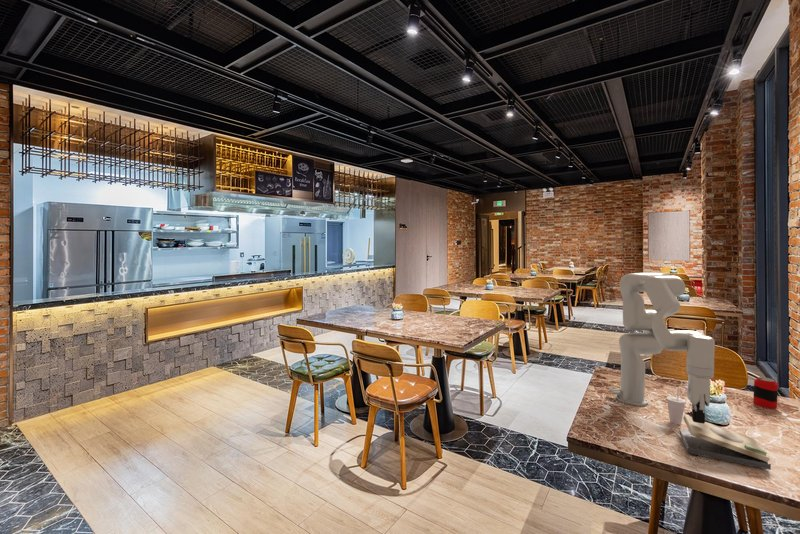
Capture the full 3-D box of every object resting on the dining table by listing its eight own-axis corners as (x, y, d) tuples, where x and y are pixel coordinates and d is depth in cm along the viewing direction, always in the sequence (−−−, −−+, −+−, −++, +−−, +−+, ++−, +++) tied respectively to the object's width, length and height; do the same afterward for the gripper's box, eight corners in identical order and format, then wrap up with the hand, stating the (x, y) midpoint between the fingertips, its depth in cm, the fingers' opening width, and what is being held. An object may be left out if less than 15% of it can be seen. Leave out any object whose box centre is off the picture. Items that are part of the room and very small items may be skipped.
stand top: (691, 434, 126) (693, 428, 126) (683, 418, 139) (685, 412, 138) (768, 462, 117) (770, 455, 117) (752, 442, 129) (754, 435, 129)
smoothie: (688, 426, 147) (689, 392, 146) (670, 425, 148) (671, 391, 147) (680, 419, 153) (681, 386, 152) (662, 418, 154) (663, 385, 154)
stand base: (687, 455, 127) (687, 447, 127) (679, 435, 140) (679, 428, 140) (770, 472, 117) (770, 464, 117) (753, 450, 130) (753, 442, 130)
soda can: (751, 400, 172) (752, 375, 171) (773, 404, 168) (774, 378, 167) (756, 406, 165) (757, 380, 164) (779, 410, 161) (780, 383, 161)
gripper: (682, 363, 138) (681, 411, 139) (690, 375, 125) (689, 428, 126) (708, 366, 135) (706, 415, 136) (719, 378, 122) (717, 433, 122)
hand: (698, 421), depth 131 cm, fingers closed
